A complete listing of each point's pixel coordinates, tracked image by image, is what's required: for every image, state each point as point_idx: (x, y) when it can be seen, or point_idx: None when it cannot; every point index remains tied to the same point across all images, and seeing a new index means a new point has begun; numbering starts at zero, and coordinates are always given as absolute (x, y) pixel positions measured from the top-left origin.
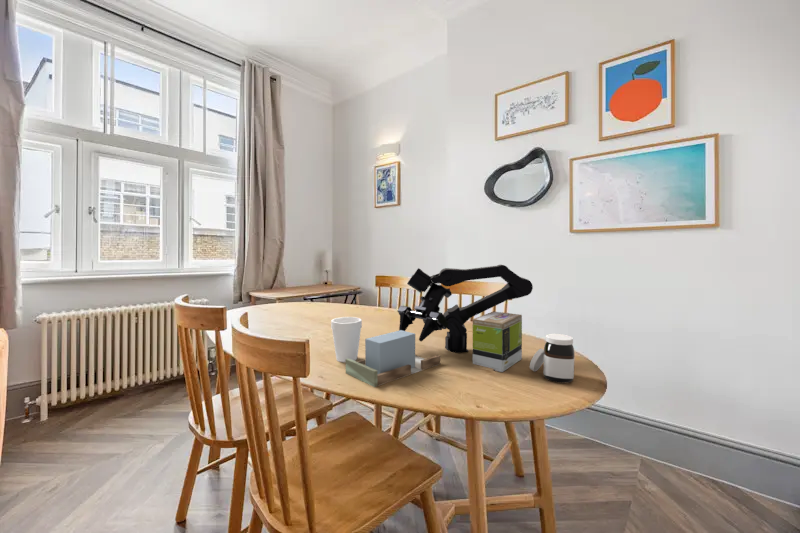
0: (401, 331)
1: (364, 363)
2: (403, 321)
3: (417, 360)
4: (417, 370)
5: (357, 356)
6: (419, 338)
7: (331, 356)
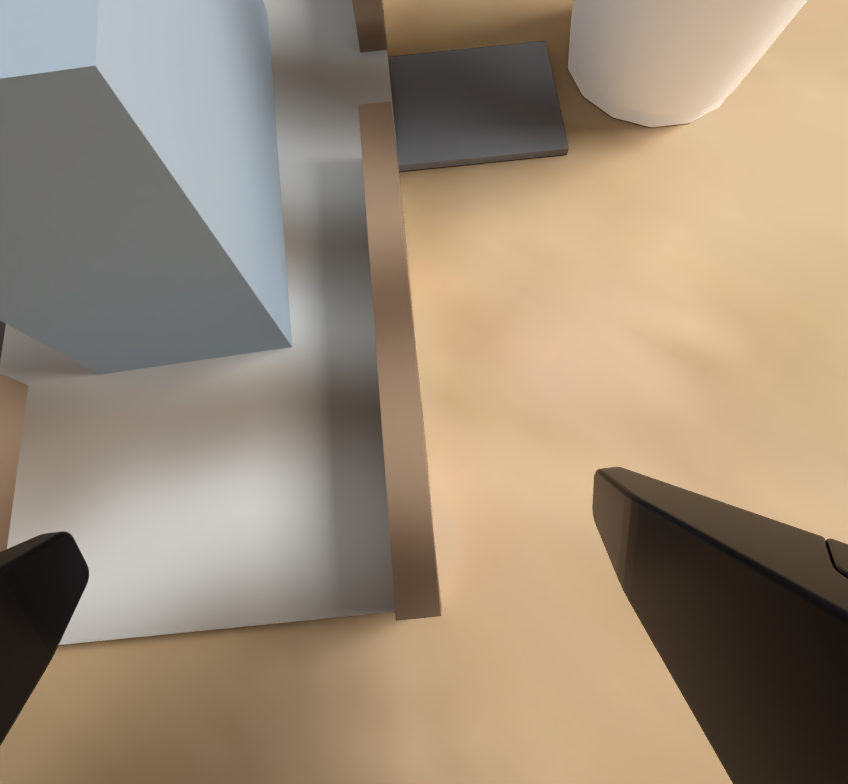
0: (4, 21)
1: (353, 7)
2: (825, 653)
3: (211, 514)
4: (26, 336)
5: (620, 90)
6: (41, 537)
7: (823, 16)
